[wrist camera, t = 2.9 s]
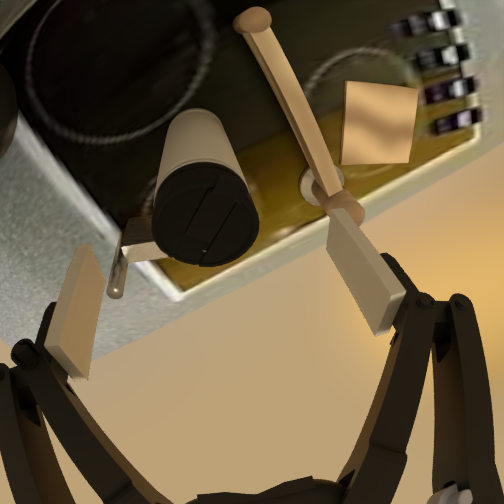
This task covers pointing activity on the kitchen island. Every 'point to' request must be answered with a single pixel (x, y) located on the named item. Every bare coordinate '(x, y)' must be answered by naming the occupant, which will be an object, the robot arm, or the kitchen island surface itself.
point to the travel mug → (202, 194)
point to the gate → (296, 111)
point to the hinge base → (307, 181)
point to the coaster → (377, 123)
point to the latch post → (132, 252)
